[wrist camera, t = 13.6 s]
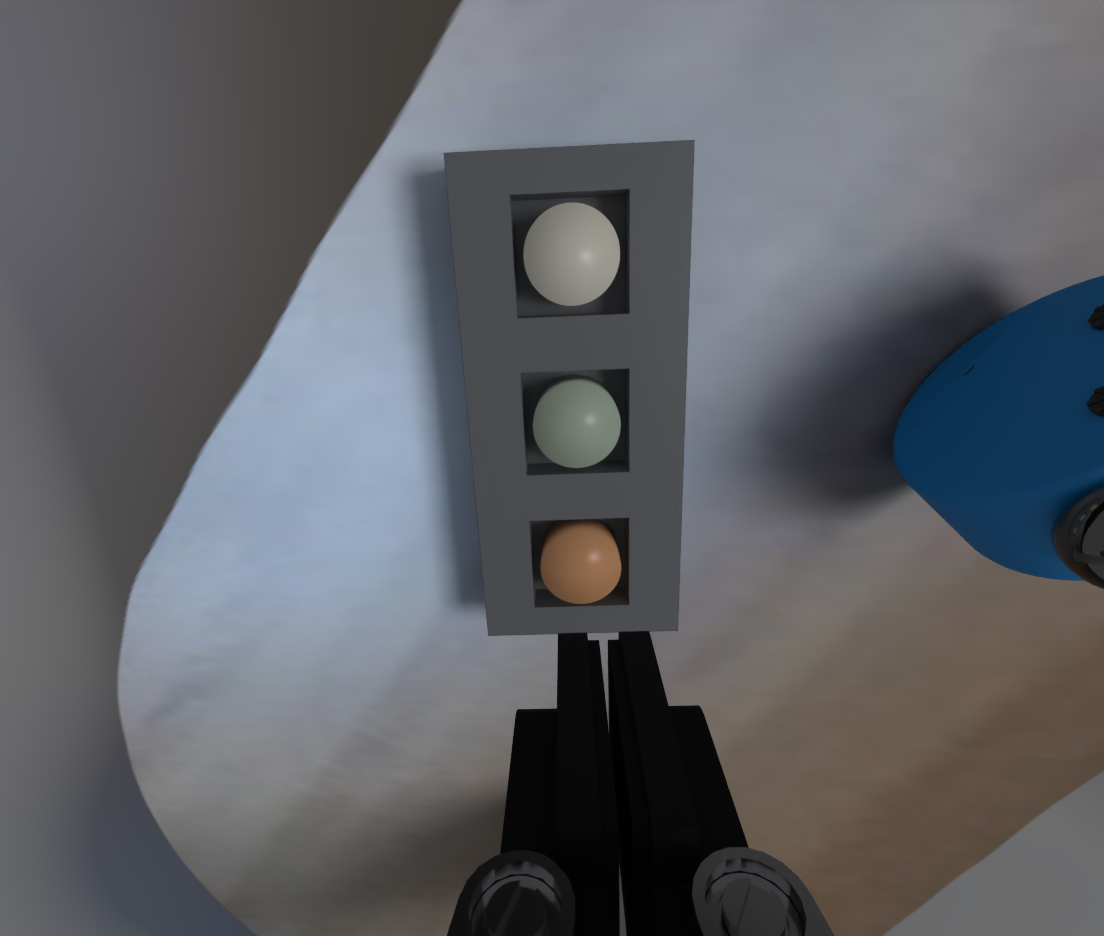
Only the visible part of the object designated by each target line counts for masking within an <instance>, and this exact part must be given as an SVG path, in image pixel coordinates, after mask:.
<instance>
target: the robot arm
mask: <svg viewBox="0 0 1104 936" xmlns="http://www.w3.org/2000/svg"><path fill="white" fill-rule="evenodd" d="M608 690H609V730H608V721H607V711H606V702H605V692H604V683H603V673H602V664H601V654H600V645H599V640H588V638H587V632H583V633H558V678H557V709H517V712H516V718H515V726H514V735H513V744H512V753H511V762H510V771H509V780H508V789H507V798H506V807H505V816H504V825H503V834H502V843H501V852H500V854H499V855H496V856H494V857H492V858H491V859H489V860H488V861H486V862H485V863H483V864H482V865H480V866H479V867H478V868H477V869H476V871H475V872H474V873H473V874H472V875H471V876H470V878H469V879H468V880H467V881H466V884H465V886H464V888H463V890H462V892H461V894H460V896H459V898H458V901H457V905H456V908H455V911H454V914H453V917H452V921H451V924H450V927H449V930H448V933H447V936H835V935H834V934H833V932H832V930H831V928H830V927H829V925H828V923H827V921H826V919H825V918H824V916H823V914H822V912H821V911H820V909H819V907H818V905H817V903H816V902H815V900H814V898H813V896H812V895H811V893H810V892H809V890H808V889H807V888H806V886H805V885H804V883H803V882H802V881H801V879H800V878H799V877H798V876H797V875H796V874H795V873H794V872H793V871H792V870H791V869H789V868H788V867H787V866H786V865H785V864H784V863H783V862H781V861H779V860H777V859H776V858H774V857H772V856H770V855H768V854H766V853H765V852H762V851H758V850H754V849H751V848H749V847H748V844H747V841H746V838H745V835H744V832H743V829H742V827H741V824H740V821H739V818H738V815H737V812H736V809H735V806H734V803H733V800H732V797H731V794H730V791H729V788H728V785H727V782H726V779H725V776H724V773H723V770H722V767H721V764H720V761H719V758H718V755H717V752H716V749H715V746H714V743H713V740H712V737H711V734H710V731H709V728H708V725H707V722H706V719H705V716H704V714H703V711H702V709H701V708H700V706H699V705H698V706H668V702H667V699H666V695H665V691H664V687H663V683H662V679H661V675H660V671H659V667H658V663H657V660H656V656H655V652H654V648H653V644H652V640H651V636H650V633H649V631H622V632H619V640H608Z"/></svg>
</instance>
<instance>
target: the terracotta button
mask: <svg viewBox="0 0 1104 936" xmlns="http://www.w3.org/2000/svg"><path fill="white" fill-rule="evenodd" d="M620 575H621V561H620V556H619V551H618V546H617V542H616V538H615V535H614V533H613V531H612V530H611V528H610V527H609V526H608V525H607V524H606V523H605V522H604V521H602V520H601V519H575V520H557V521H556V522H554V523H553V524H552V525H551V526H550V527H549V529H548V530H547V532H546V534H545V536H544V539H543V543H542V555H541V576H542V579H543V581H544V584H545V585H546V587H547V588H548V589H549V591H550V592H551V593H552V594H554V595H555V596H556V597H558V598H560V599H561V600H564V601H566V602H570V603H575V604H587V603H592V602H595V601H598V600H600V599H602V598H604V597H605V596H607V595H608V594H609V593H610V592H611V591H612V590H613V589H614V588H615V586H616V585H617V583H618V581H619V578H620Z"/></svg>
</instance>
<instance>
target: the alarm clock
mask: <svg viewBox="0 0 1104 936" xmlns="http://www.w3.org/2000/svg"><path fill="white" fill-rule="evenodd" d="M893 454H894V460H895V464H896V467H897V469H898V471H899V473H900V475H901V476H902V477H903V479H904V480H905V481H906V483H907V484H908V485H909V486H910V487H911V488H912V489H914V490H915V491H916V492H917V493H918V494H919V495H920V496H921V497H922V498H923V499H924V500H925V501H926V502H927V503H928V504H929V505H930V506H931V507H932V508H933V509H934V510H935V511H936V512H937V513H938V514H939V515H940V516H941V517H942V518H943V519H944V520H945V521H946V522H947V523H948V524H949V525H950V526H951V527H952V528H953V529H954V530H955V531H957V532H958V533H959V534H960V535H961V536H962V537H963V538H964V539H965V540H966V541H967V542H968V543H969V544H970V545H971V546H972V547H973V548H974V549H975V550H977V551H978V552H979V553H981V554H982V555H983V556H985V557H987V558H989V559H990V560H992V561H994V562H996V563H997V564H1000V565H1002V566H1004V567H1006V568H1009V569H1012V570H1015V571H1018V572H1021V573H1024V574H1029V575H1033V576H1037V577H1044V578H1050V579H1059V580H1072V581H1086V582H1088V583H1090V584H1092V585H1094V586H1097V587H1100V588H1102V589H1104V276H1100V277H1097V278H1093V279H1090V280H1087V281H1084V282H1081V283H1078V284H1075V285H1072V286H1070V287H1067V288H1065V289H1062V290H1059V291H1057V292H1054V293H1052V294H1050V295H1047V296H1045V297H1043V298H1041V299H1039V300H1036V301H1034V302H1032V303H1030V304H1028V305H1026V306H1024V307H1022V308H1020V309H1018V310H1016V311H1015V312H1013V313H1011V314H1009V315H1007V316H1006V317H1004V318H1002V319H1000V320H999V321H997V322H996V323H994V324H992V325H991V326H989V327H988V328H986V329H985V330H983V331H982V332H980V333H979V334H977V335H976V336H974V337H973V338H972V339H970V340H969V341H968V342H966V343H965V344H963V345H962V346H961V347H960V348H958V349H957V350H956V351H955V352H954V353H952V354H951V355H950V356H949V357H948V358H947V359H946V360H944V361H943V362H942V363H941V364H940V365H939V366H938V367H937V368H936V369H935V370H934V371H933V372H932V373H931V374H930V375H929V376H928V377H927V378H926V380H925V381H924V382H923V383H922V384H921V386H920V387H919V388H918V389H917V391H916V392H915V393H914V395H913V396H912V397H911V399H910V400H909V402H908V404H907V405H906V407H905V409H904V411H903V413H902V414H901V417H900V419H899V421H898V424H897V427H896V430H895V435H894V440H893Z"/></svg>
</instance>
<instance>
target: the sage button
mask: <svg viewBox="0 0 1104 936" xmlns="http://www.w3.org/2000/svg"><path fill="white" fill-rule="evenodd" d="M620 429H621V421H620V415H619V412H618V409H617V406H616V404H615V402H614V400H613V397H612V395H611V394H610V392H609V391H608V389H607V388H606V387H605V386H604V385H603V384H602V383H600V382H599V381H597V380H596V379H594V378H591V377H589V376H585V375H577V374H574V375H567V376H563V377H560V378H558V379H556V380H554V381H553V382H552V383H550V384H549V385H548V386H547V387H546V388H545V389H544V390H543V391H542V393H541V395H540V396H539V399H538V401H537V404H536V408H535V413H534V418H533V433H534V437H535V440H536V443H537V445H538V447H539V448H540V450H541V451H542V452H543V454H544V455H545V456H546V457H548V458H549V459H550V460H551V461H553V462H555V463H557V464H559V465H561V466H565V467H570V468H583V467H588V466H591V465H594V464H596V463H598V462H600V461H601V460H603V459H604V458H605V457H606V456H608V455H609V453H610V452H611V451H612V450H613V448H614V447H615V445H616V443H617V441H618V438H619V435H620Z"/></svg>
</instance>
